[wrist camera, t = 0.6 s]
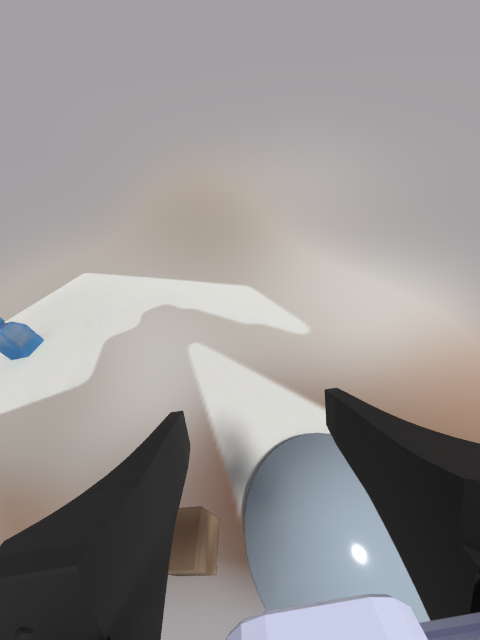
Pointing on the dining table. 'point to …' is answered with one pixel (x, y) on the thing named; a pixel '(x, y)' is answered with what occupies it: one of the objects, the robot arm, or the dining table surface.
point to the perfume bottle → (17, 340)
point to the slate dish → (319, 531)
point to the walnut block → (194, 543)
